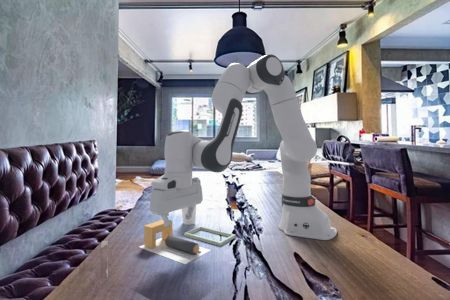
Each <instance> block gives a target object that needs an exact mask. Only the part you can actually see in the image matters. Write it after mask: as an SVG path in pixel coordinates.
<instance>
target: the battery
mask: <svg viewBox="0 0 450 300" xmlns="http://www.w3.org/2000/svg"><path fill="white" fill-rule="evenodd" d="M165 244H166V245H167V246H169V247H172V248H175V249H178V250H181V251H184V252H187V253H190V254H193V255H195V254H197V253H198V251H199V247H200V245H199V243H198V242H194V241H191V240H187V239H184V238H180V237H177V236H175V235H173V236H171V235H170V236H168V237H167V238H166V240H165Z"/></svg>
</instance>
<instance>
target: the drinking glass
mask: <svg viewBox="0 0 450 300" xmlns="http://www.w3.org/2000/svg"><path fill="white" fill-rule="evenodd" d="M187 211H188V207H186V208H182V209H181V212H182V223H183V224H184V225H188V226H189V225H196V218H197V217H196V215H197V204H196V205H195V208H194V211H193V213H192V218H191V219H186V218H185V217H186V216H185V214H186V213H187Z"/></svg>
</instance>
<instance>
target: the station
mask: <svg viewBox="0 0 450 300" xmlns="http://www.w3.org/2000/svg"><path fill="white" fill-rule="evenodd" d="M138 248H140V249H143V250H145V251H148V252H151V253H154V254H156V255H159V256H161V257H165V258H167V259H170V260H172V261H175V262H177V263H180V264H183V265H187V264H189V263H191V262H192V261H194V260H196V259H198V258H200V257H201V256H203V255H205V254H207V253H208V252H210V251H212V250H211V249H209V248H206V247H202V246H199V251H198V253H197V254H195V255H193V254H190V253H187V252H184V251H181V250H178V249H175V248H172V247H169V246H167V245H166V244H165V240H164V239H162V237H160V238H158V239H157V238H156V247H155V248H149V247H146V246H144V244H143V245H139V246H138Z"/></svg>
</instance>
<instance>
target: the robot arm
mask: <svg viewBox="0 0 450 300" xmlns="http://www.w3.org/2000/svg"><path fill="white" fill-rule="evenodd" d="M285 73H286V72H285V69H284V65H283V63H282V61H281V60H280V58H279V57H277V56H276V55H275V54H266V55H263V56H261V57H259V58H258V59H256V60H254V61H253V62H251V63H250V64H249V65H248V66H247V67H246V66H245V65H244V64H242V63H238V62H237V63H236V62H233V63H230V64H229V65H227V67H226V68H225V70H224V71H223V72H222V73H221V76H220V77H219V78H218V81H217V82H216V85H215V87H214V89H213V92H212V93H211V103H212V105H213V107H214V108H215V110H217V112H219V113H220V114H222V118H221V121H220V124H219V127H218V130H217V133H216V135H215V137H214V138H212V139H211V140H210V139H209V140H205V139H202V138H201V137H198V136H196V135H194V134H193V133H192V132H191V131H190V130H189V129H179V130H178V129H177V130H173V131H170V132H168V133H167V134H166V137H165V141H164V161H165V168H164V174H163V175H161V176H159V177H157V178H156V179H154V180H152V181H151V182H150V186H151V188H152V190H151V191H150V194H149V195H150V197H149V210H150V212H151V214H153V215H157V216H160V217H161V220H164V226H166V227H168V226H171V219H169V216H170V214H169V213H170V212H175V211H179V210H182V208H186V207H188V211H187V213H186V214H185V216H186V217H185V218H186V219H191V218H192V213H193V211H194V208H195V205H196V206H197V205H199V204H202V202H203V188H202V184H201V179H200V178H199V177H196V176H195V177H193V168H196V169H201V170H207V171H210V172H214V173H222V172H224V171H226V170H227V169H228V168H229V166H230V164H231V163H232V159H233V153H234V152H233V151H234V144H235V141H236V137H237V135H238V130H239V128H240V127H239V126H240V123H241V120H242V116H243V104H242V102H243V99H244V97H245V96H246V95H255V94H258V93H259V92H262V91H264V92H265V94H266V95H267V97H268V103H269V106H270V109H271V113H272V116H273V121H274V123H275V126H276V127H277V130H278V132H279V134H280V137H281V139H282V140H281V141H280V143H279V152H280V162H281V163H280V164H281V171H282V194H281V207H282V211H281V218H280V222H279V225H278V229H280V230H281V231H282V232H284V234H285V235H286V236H293V237H298V238H306V239H307V238H308V239H313V240H314V239H315V240H322V241H329V240H332V239H334V238H335V237H336V236H337V233H338V232H337V228H336V227H333V226H331V219H330V218H329V215H328V214H327V213H325V212H324V211H323V210H322V209H321V208H320V207H318V206H317V205H316V201H317V197H314V196H313V195H311V178H312V176H311V174H310V170H309V165H308V162H309V161H312V159H314V157H315V156H316V154H317V152H318V146H317V142H316V141H315V140H314V139H313V137H312V134H311V132H310V129H309V127H308V126H307V123H306V121H305V119H304V116H303V113H302V110H301V107H300V104H299V103H300V102H299V100H298V97H297V93H296V90H295V88H294V85H293V83H292V81H291V79H290V77H289V76H287V75H286V74H285Z"/></svg>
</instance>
